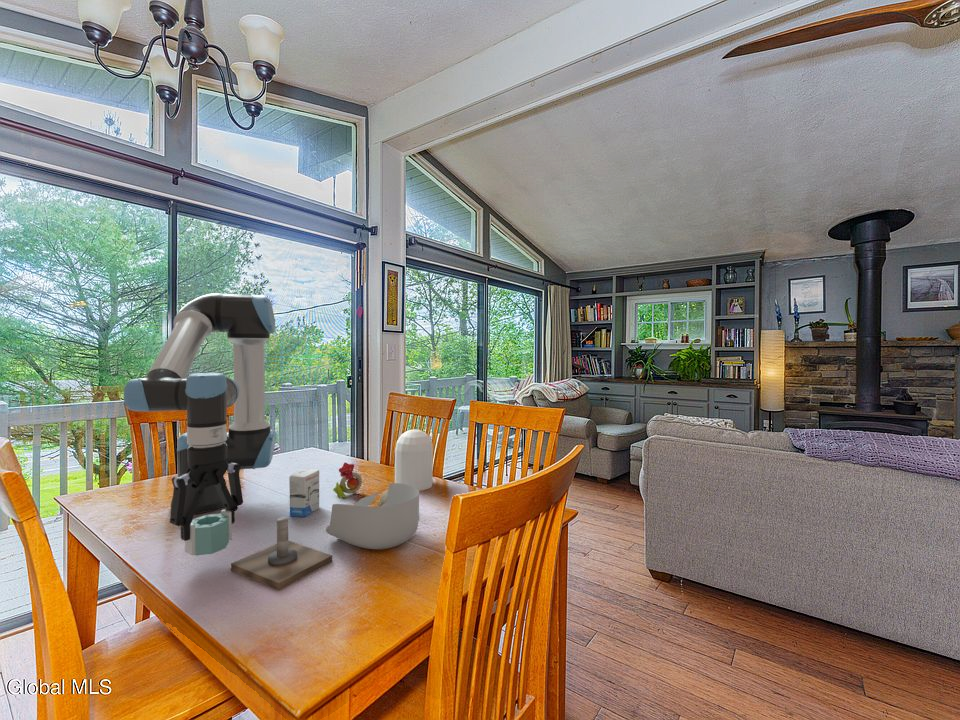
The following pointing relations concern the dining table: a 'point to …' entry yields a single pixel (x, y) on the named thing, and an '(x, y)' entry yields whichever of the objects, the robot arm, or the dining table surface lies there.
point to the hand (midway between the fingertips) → (209, 545)
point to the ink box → (304, 492)
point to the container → (414, 460)
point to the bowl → (378, 519)
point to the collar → (211, 533)
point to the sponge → (383, 498)
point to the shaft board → (281, 561)
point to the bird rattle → (351, 483)
